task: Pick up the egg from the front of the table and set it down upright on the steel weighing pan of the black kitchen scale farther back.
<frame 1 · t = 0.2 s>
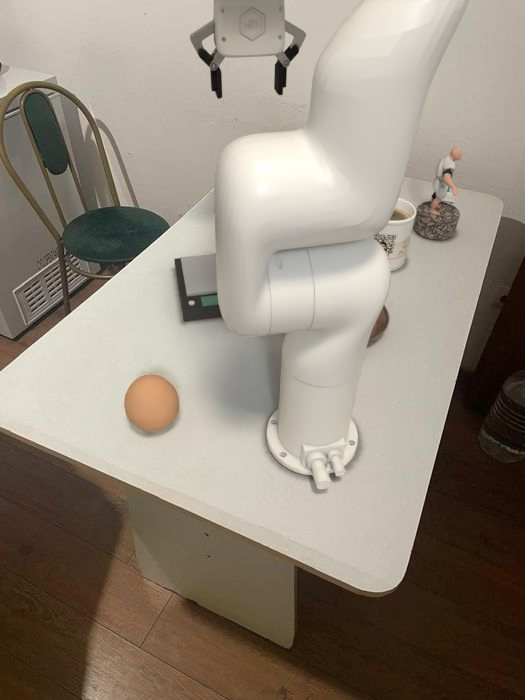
hand: (248, 94, 81), 31 cm above the table, tool pointing down, fingers open, 9 cm apart
saucer: (343, 325, 89), on the table
egg: (156, 422, 73), on the table
mug: (374, 257, 104), on the table
scale: (217, 289, 96), on the table
figurine: (433, 230, 112), on the table
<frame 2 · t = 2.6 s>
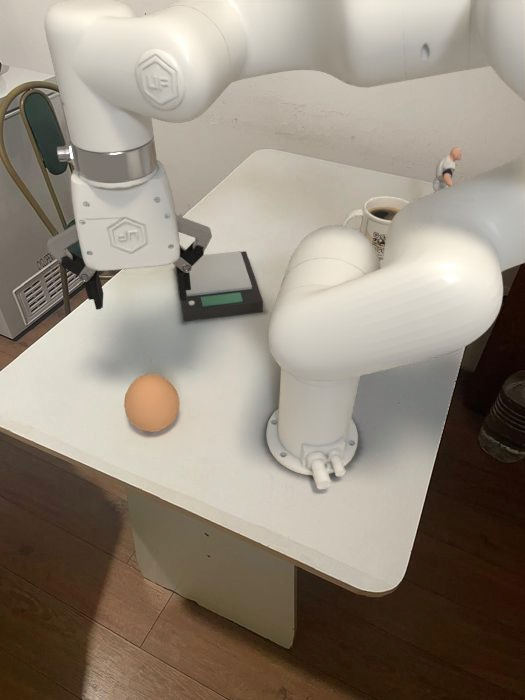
hand: (141, 297, 61), 20 cm above the table, tool pointing down, fingers open, 9 cm apart
nothing on the table moved.
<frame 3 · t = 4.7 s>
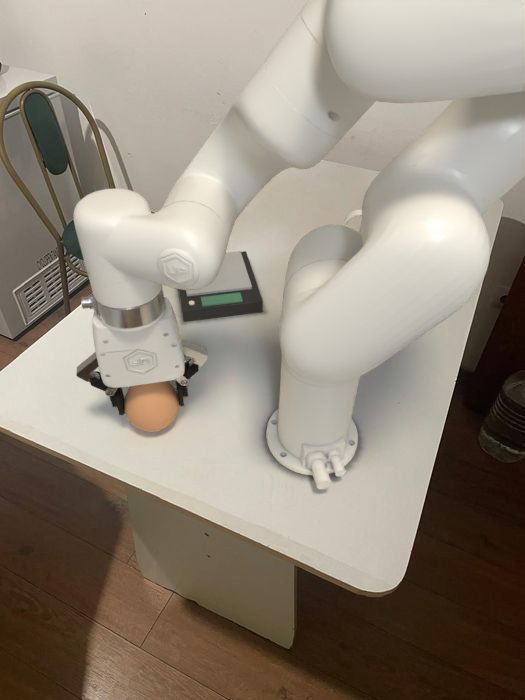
hand: (151, 402, 70), 4 cm above the table, tool pointing down, fingers closed on egg, 7 cm apart
egg: (155, 422, 73), on the table, touching gripper
everything else where it was.
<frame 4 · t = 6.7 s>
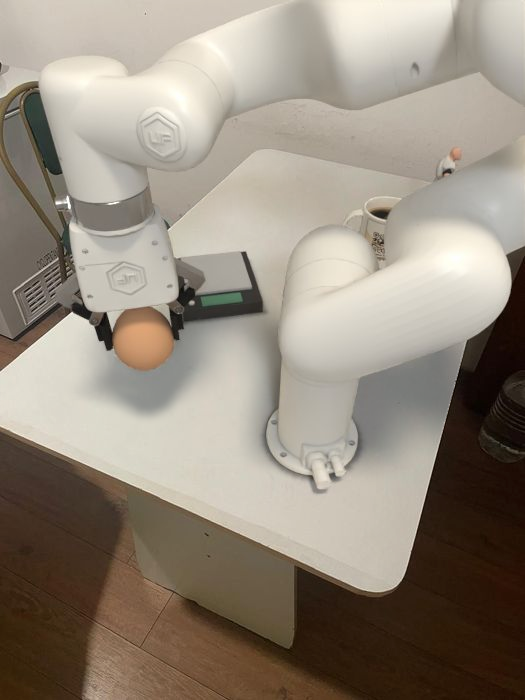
hand: (143, 337, 62), 16 cm above the table, tool pointing down, fingers closed on egg, 7 cm apart
egg: (149, 363, 65), point 12 cm above the table, touching gripper
everything else where it was.
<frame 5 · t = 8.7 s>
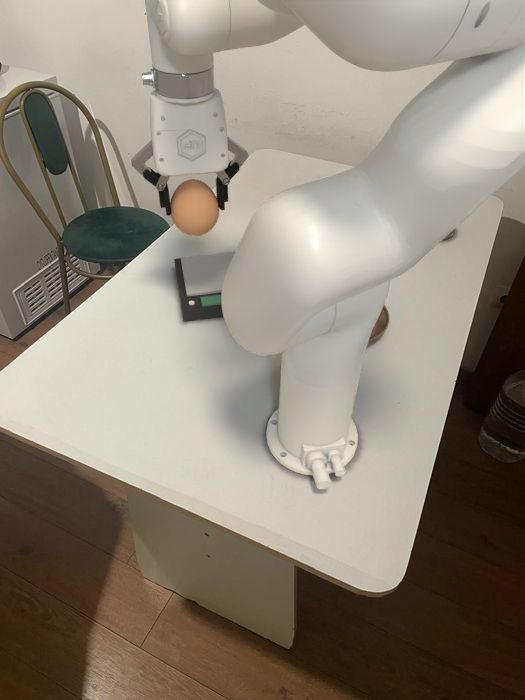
hand: (194, 207, 77), 20 cm above the table, tool pointing down, fingers closed on egg, 7 cm apart
egg: (196, 233, 80), point 16 cm above the table, touching gripper
everything else where it was.
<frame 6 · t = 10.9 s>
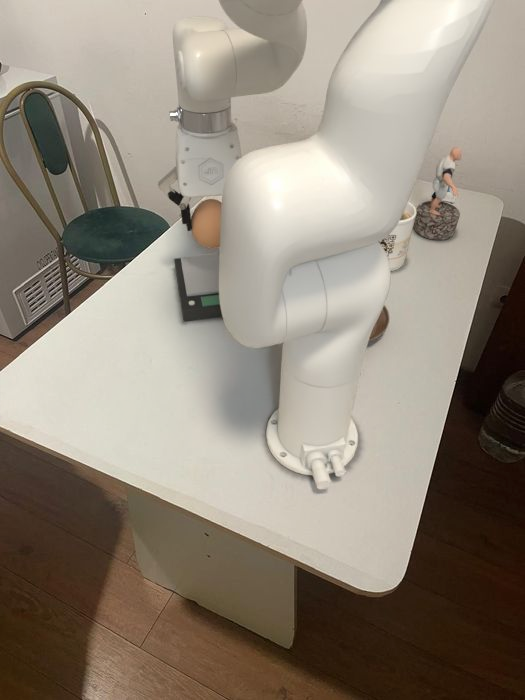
hand: (212, 223, 88), 13 cm above the table, tool pointing down, fingers closed on egg, 7 cm apart
egg: (213, 246, 91), point 8 cm above the table, touching gripper
everything else where it was.
when the fingers open (7 cm above the table, at t = 12.8 s): egg stays where it is, resting on scale.
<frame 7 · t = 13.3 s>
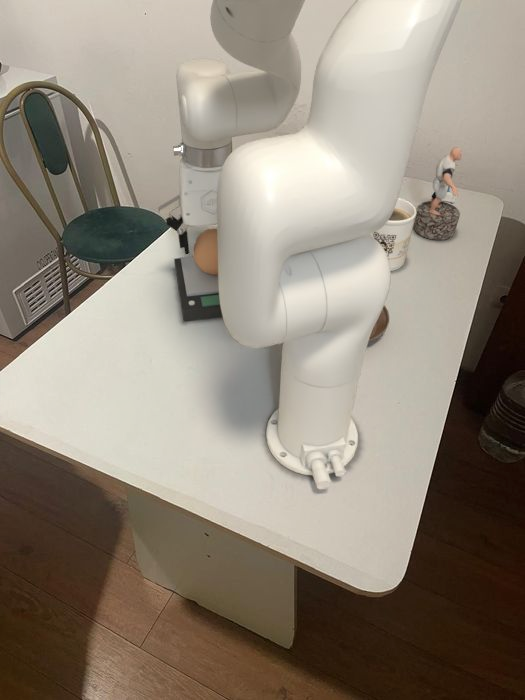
hand: (213, 247, 91), 8 cm above the table, tool pointing down, fingers open, 9 cm apart
egg: (215, 272, 95), point 3 cm above the table, touching scale
everything else where it was.
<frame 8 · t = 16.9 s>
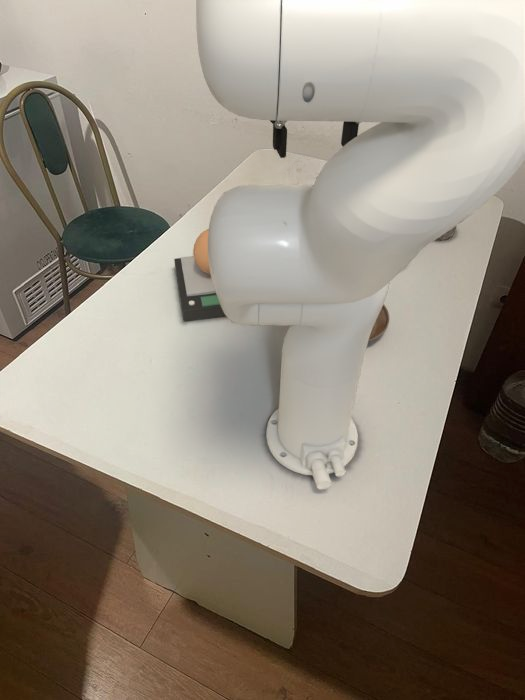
hand: (314, 151, 73), 28 cm above the table, tool pointing down, fingers open, 9 cm apart
nothing on the table moved.
at the end: egg inside the target area on the scale (0.0 cm from its centre), point 2.9 cm above the scale's base; egg tilted 0°; the gripper is holding nothing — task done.
